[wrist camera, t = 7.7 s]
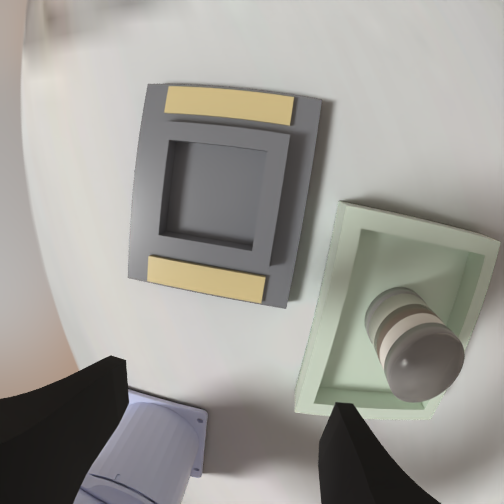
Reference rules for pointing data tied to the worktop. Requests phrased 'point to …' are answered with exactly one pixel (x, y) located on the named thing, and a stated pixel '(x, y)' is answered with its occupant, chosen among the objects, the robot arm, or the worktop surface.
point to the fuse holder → (221, 190)
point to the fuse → (412, 345)
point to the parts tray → (369, 287)
